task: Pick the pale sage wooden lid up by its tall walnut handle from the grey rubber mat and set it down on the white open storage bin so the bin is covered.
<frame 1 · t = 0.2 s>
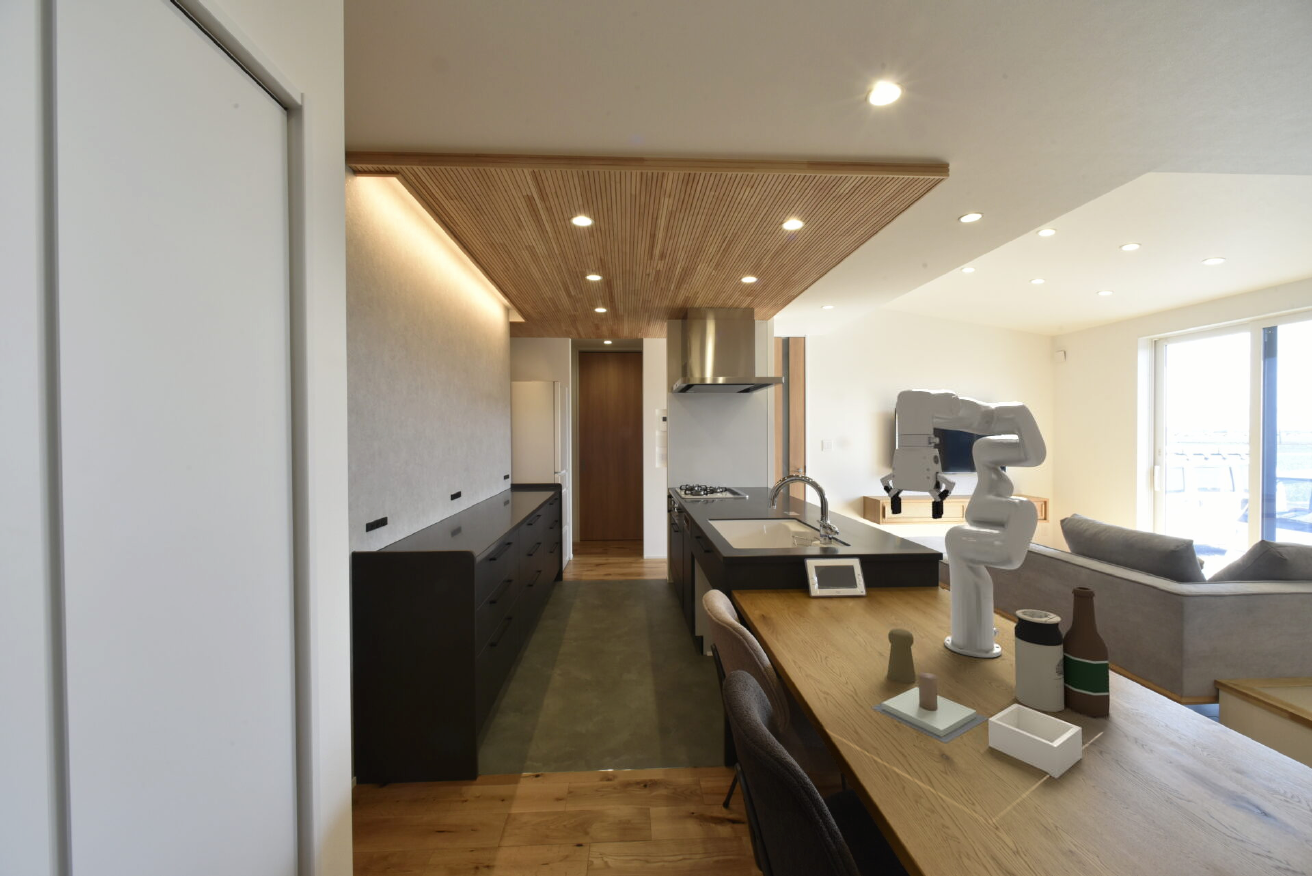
hand: (916, 516, 121), 36 cm above the table, tool pointing down, fingers open, 9 cm apart
white open storage bin: (1034, 752, 90), on the table
travel mug: (1039, 704, 106), on the table
beer bottle: (1086, 709, 104), on the table
mat: (928, 714, 102), on the table
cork: (901, 680, 118), on the table
lid: (928, 712, 102), resting on mat
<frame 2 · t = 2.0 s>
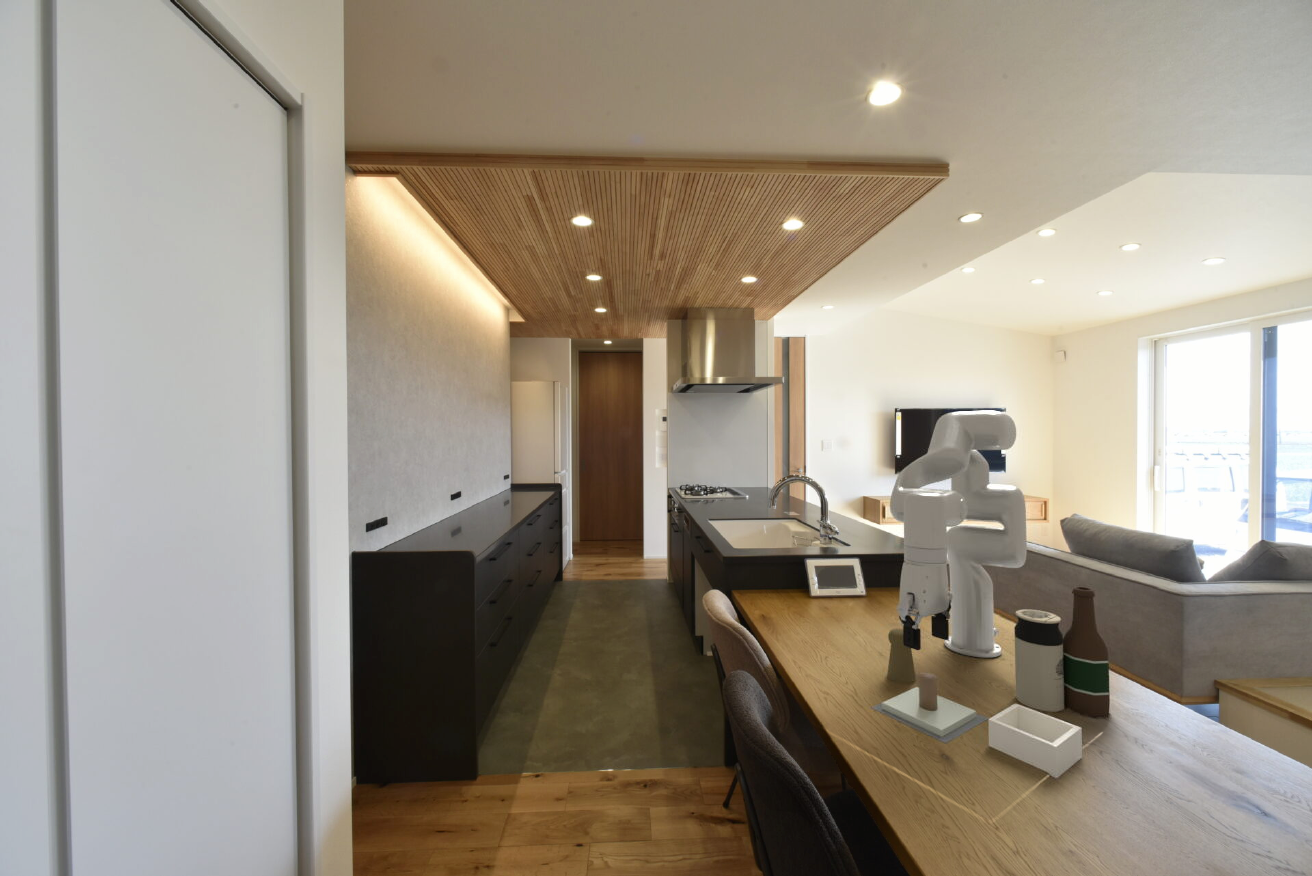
hand: (926, 642, 102), 14 cm above the table, tool pointing down, fingers open, 9 cm apart
nothing on the table moved.
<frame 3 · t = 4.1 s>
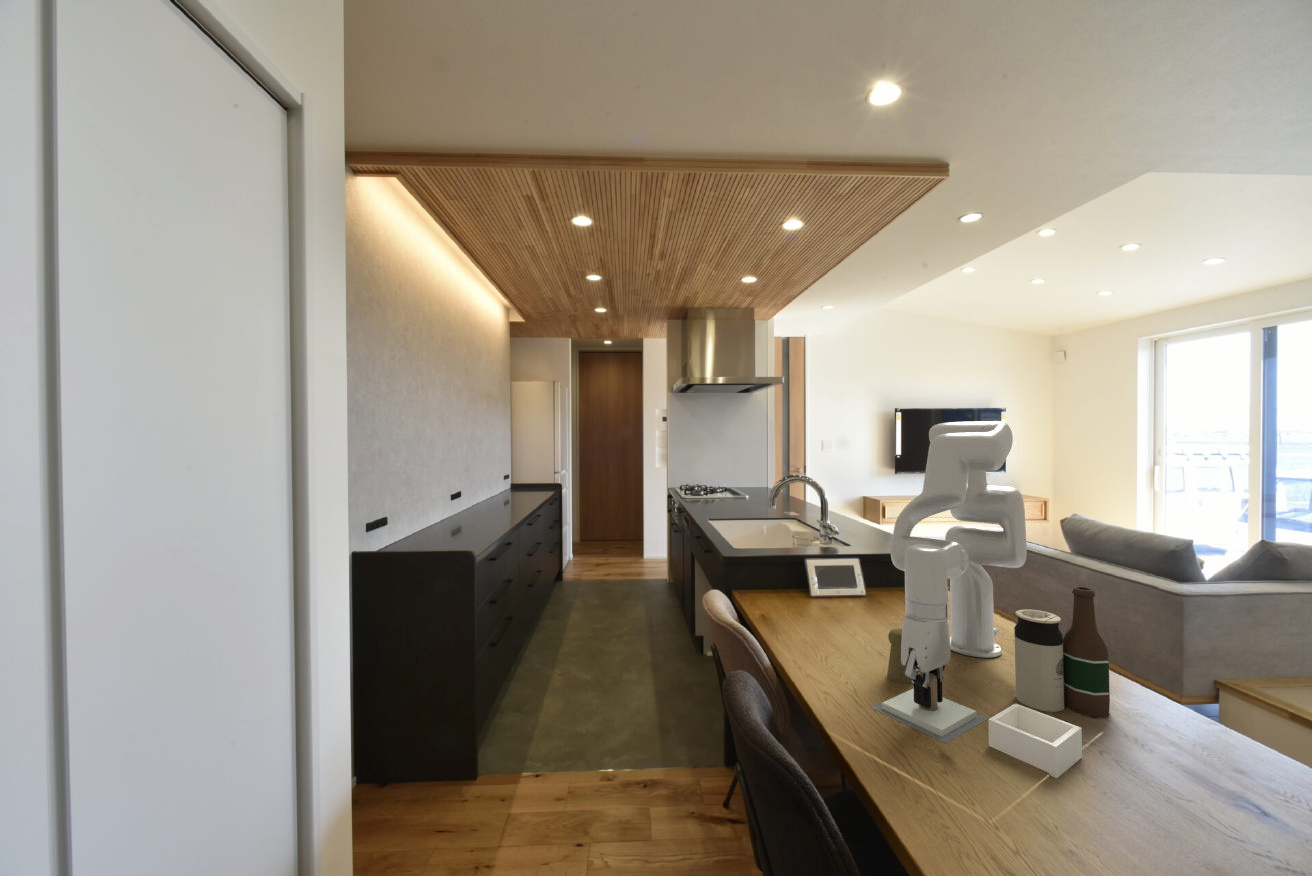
hand: (928, 701, 102), 3 cm above the table, tool pointing down, fingers closed on lid, 3 cm apart
lid: (928, 712, 102), resting on mat, touching gripper
everything else where it was.
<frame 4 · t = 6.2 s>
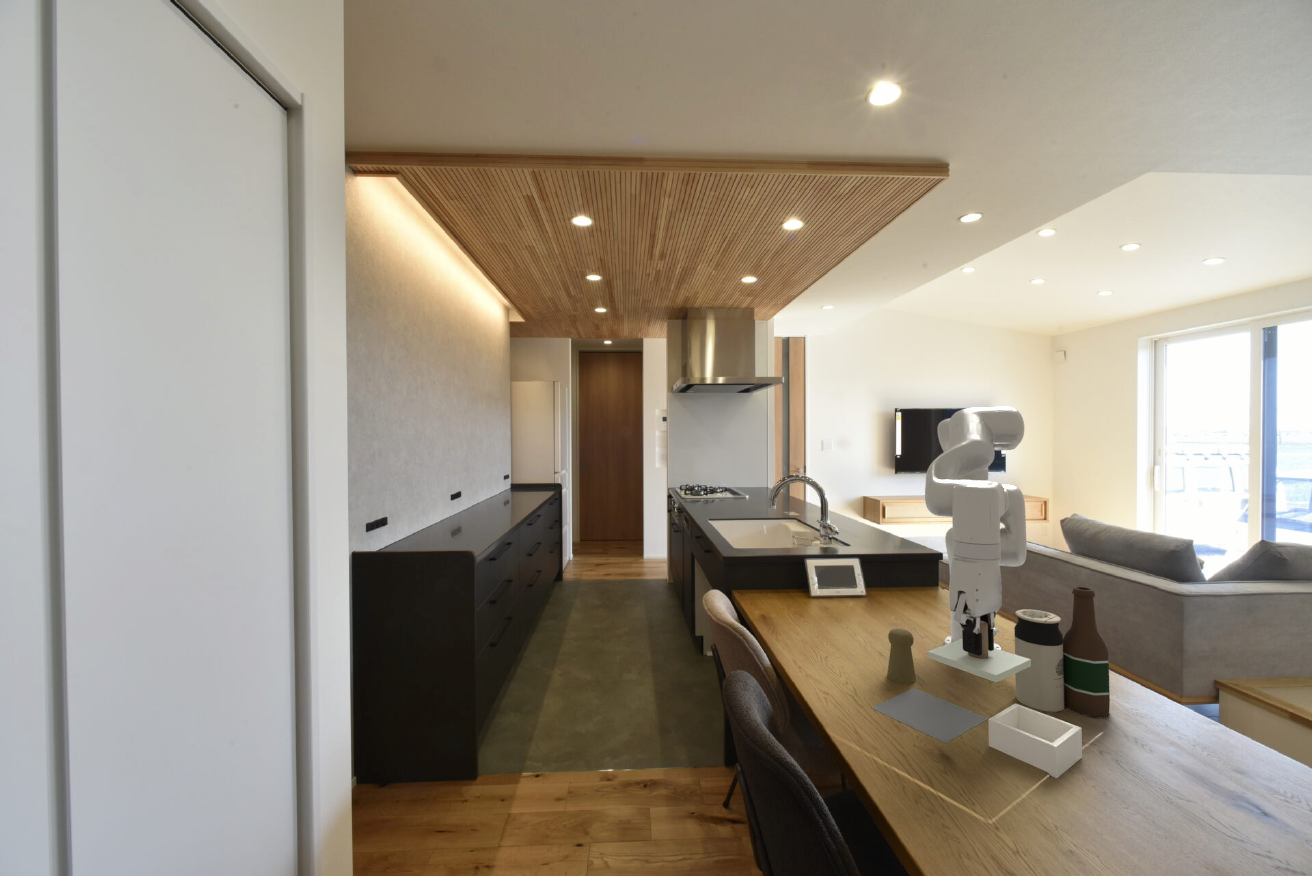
hand: (978, 649, 96), 15 cm above the table, tool pointing down, fingers closed on lid, 3 cm apart
lid: (978, 661, 96), point 13 cm above the table, touching gripper
everything else where it was.
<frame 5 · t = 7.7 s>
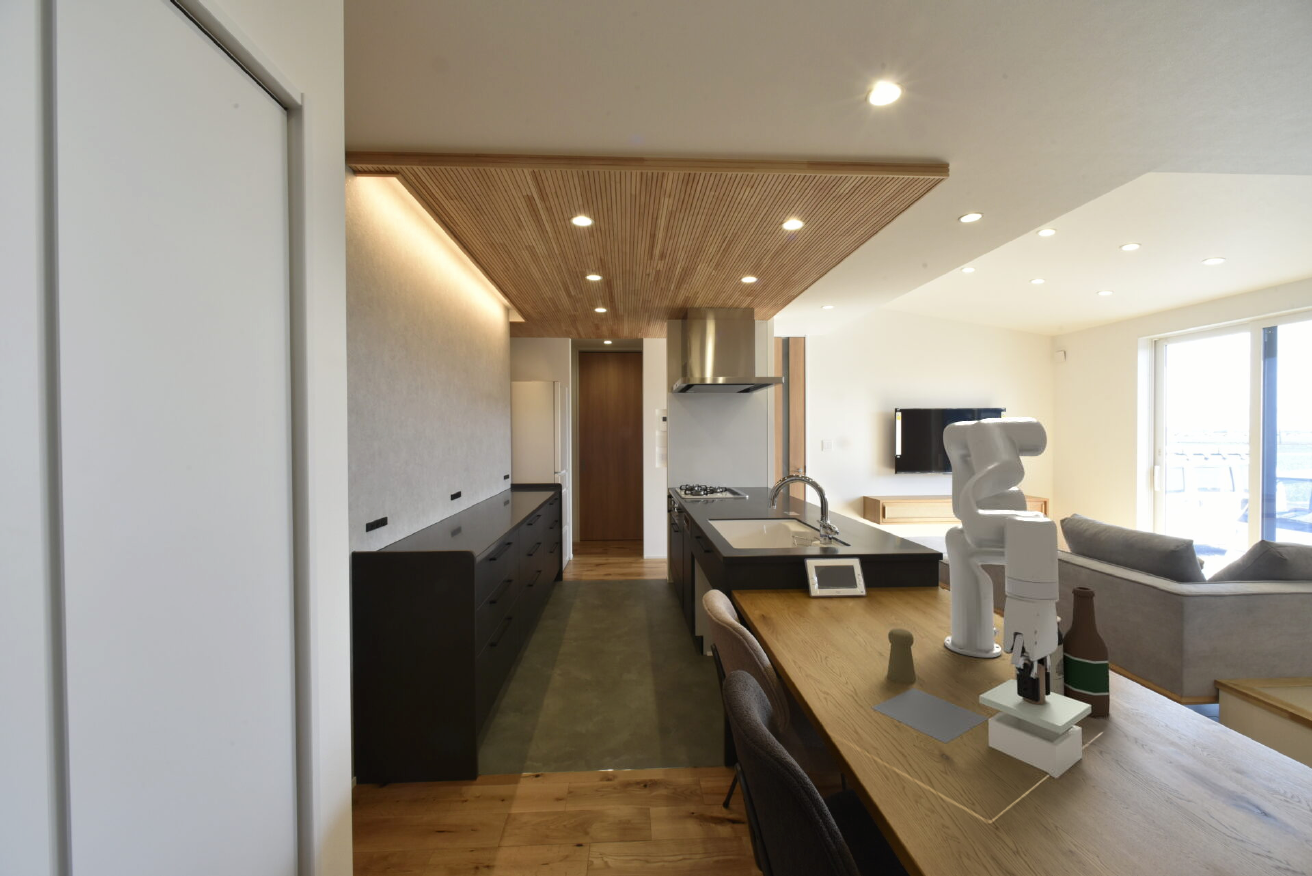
hand: (1033, 694, 90), 10 cm above the table, tool pointing down, fingers closed on lid, 3 cm apart
lid: (1034, 707, 90), point 8 cm above the table, touching gripper
everything else where it was.
when the fingers open (8 cm above the table, at t = 8.7 s): lid stays where it is, resting on white open storage bin.
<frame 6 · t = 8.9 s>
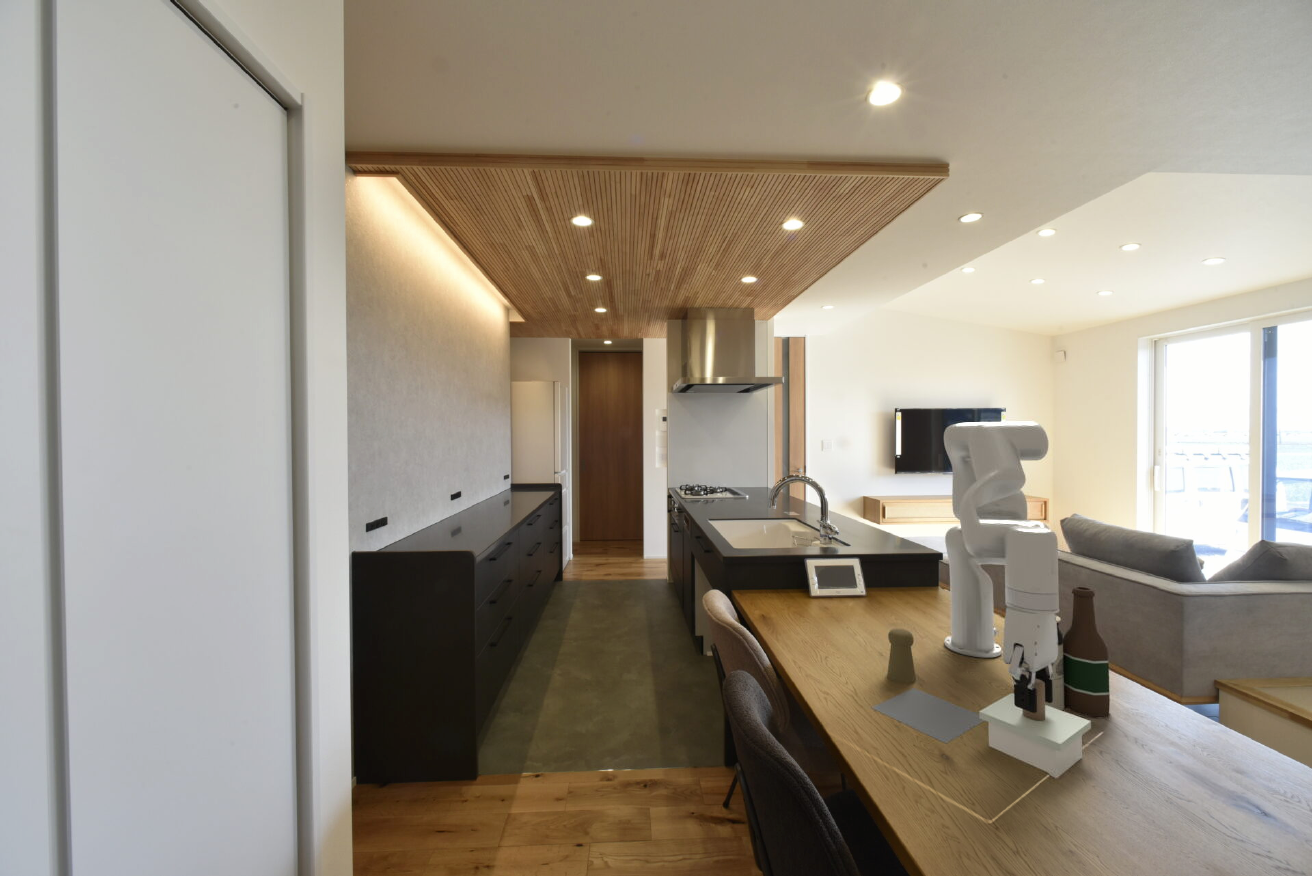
hand: (1033, 703, 90), 8 cm above the table, tool pointing down, fingers open, 5 cm apart
lid: (1034, 723, 90), point 5 cm above the table, touching white open storage bin
everything else where it was.
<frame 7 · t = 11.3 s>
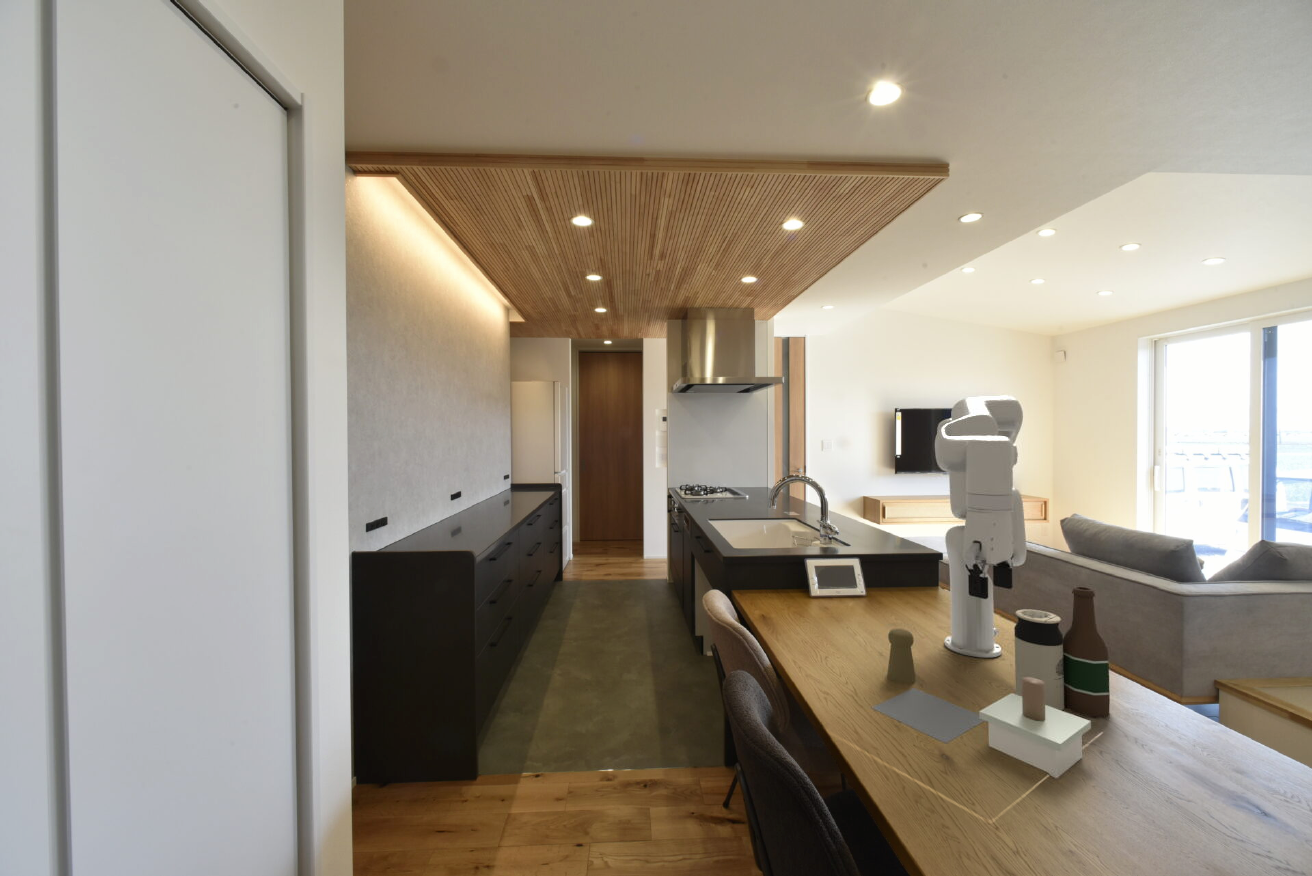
hand: (990, 592, 99), 25 cm above the table, tool pointing down, fingers open, 9 cm apart
nothing on the table moved.
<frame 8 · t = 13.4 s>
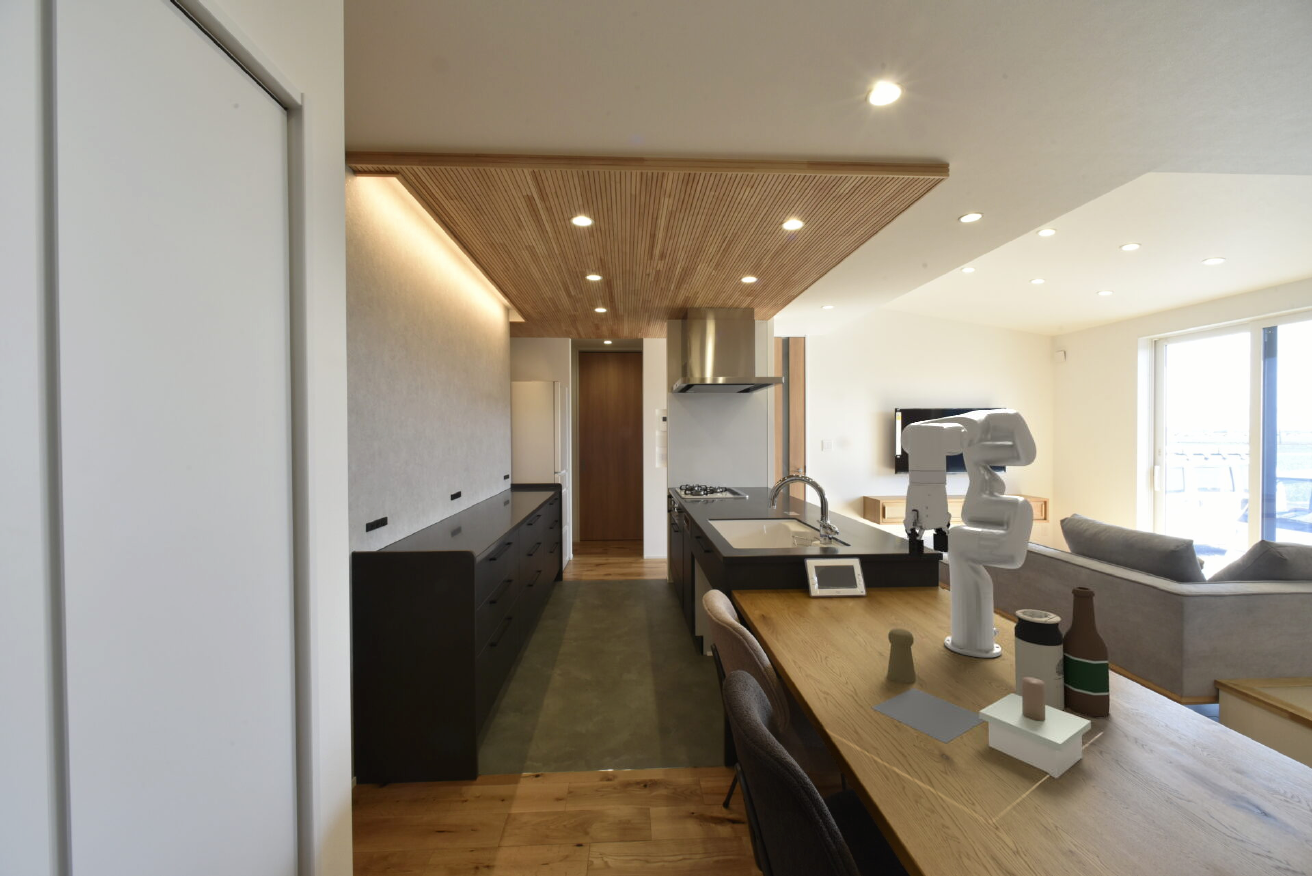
hand: (928, 554, 117), 28 cm above the table, tool pointing down, fingers open, 9 cm apart
nothing on the table moved.
at the end: lid 0.1 cm off-centre on the white open storage bin, point 5.0 cm above the white open storage bin's base; lid tilted 0°; the gripper is holding nothing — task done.
